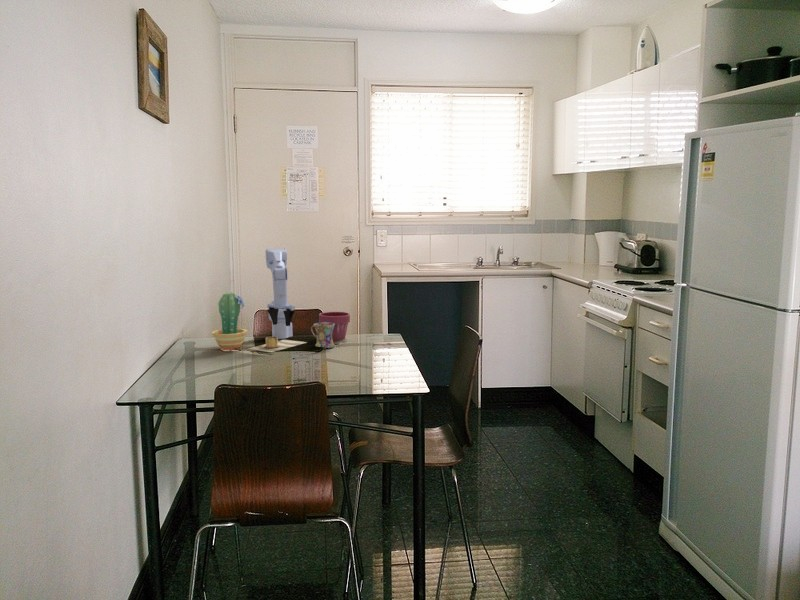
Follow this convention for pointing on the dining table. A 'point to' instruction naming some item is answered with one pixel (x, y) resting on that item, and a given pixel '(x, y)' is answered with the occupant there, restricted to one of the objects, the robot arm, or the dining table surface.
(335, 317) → the plant pot
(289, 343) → the post board
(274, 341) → the brass collar
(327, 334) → the mug
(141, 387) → the dining table surface
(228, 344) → the potted cactus
